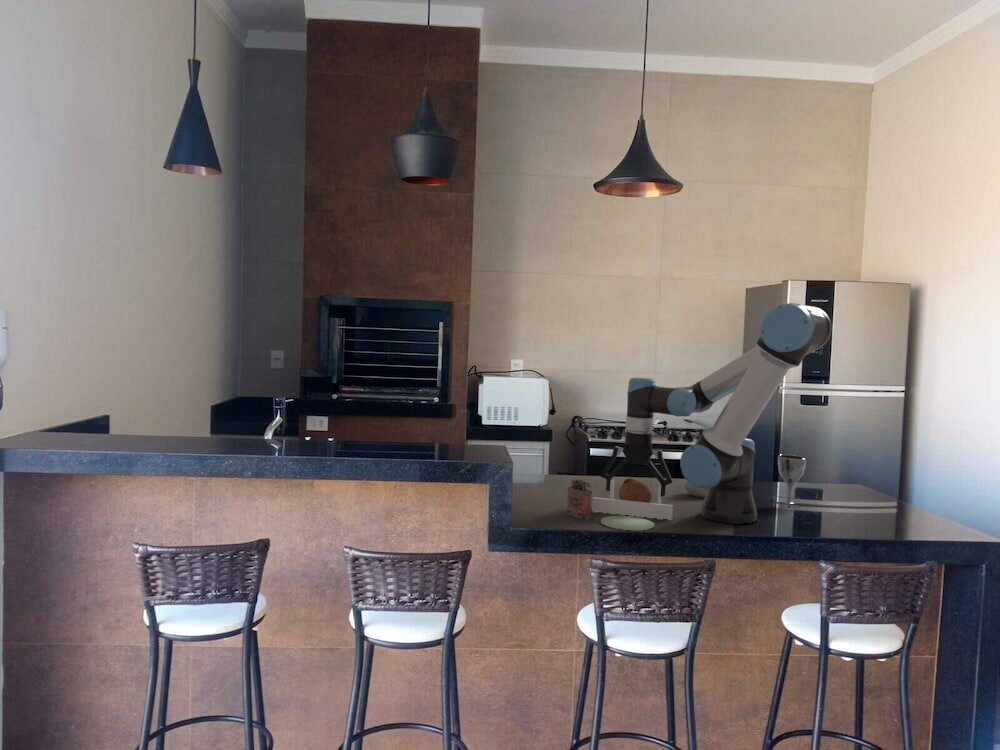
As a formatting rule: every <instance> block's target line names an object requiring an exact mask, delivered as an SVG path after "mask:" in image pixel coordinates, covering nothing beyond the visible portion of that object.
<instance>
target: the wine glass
mask: <svg viewBox="0 0 1000 750" xmlns="http://www.w3.org/2000/svg"><path fill="white" fill-rule="evenodd" d="M806 462H807V458H806V456H802V455H798V454H796V455H795V454H787V453H786V454H783V453H782V454H778V456H777V467H778V472H779V474H780V477H781V478H782V479H783V480H784V482H785V484H786V486H787V500H785V501H782V502H783V503H785V504H795V502H793V501H792V500H791V499H792V491H793V487H794V485H795V484H796V483H797V482H798V481H799V480H800V479H801V478H802V477H803V475H804V472H805V469H806Z"/></svg>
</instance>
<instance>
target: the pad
mask: <svg viewBox="0 0 1000 750" xmlns="http://www.w3.org/2000/svg"><path fill="white" fill-rule="evenodd" d="M600 523H601V525H603V524H604V525H606V526H605V527H607V526H608V527H607V528H609V527H611V528H610V529H613V528H615V529H614V530H618V529H622V530H621V531H626V530H630V531H629V532H644V530H645V531H650V530H652V529H651V528H653V527H654V528H655V523H654V522H653V521H651V520H649V519H648V518H644V517H634V516H625V515H610V516H609V515H608V516H603V517H602V518H601V520H600ZM604 525H603V526H604ZM654 528H653V529H654ZM649 529H650V530H649Z"/></svg>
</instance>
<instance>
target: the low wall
mask: <svg viewBox="0 0 1000 750" xmlns="http://www.w3.org/2000/svg"><path fill="white" fill-rule="evenodd" d="M591 502H592V505H591V512H592V511H594V512H593V513H597V512H603V513H602V514H606V513H610V514H609V515H615V514H620V515H619V516H625V515H629V516H632V517H634V516H636V517H638V518H644V517H646V518H645V519H653V518H657V519H656V520H663V519H668V520H667V521H672V520H673V510H674V505H673V504H667V503H666V504H664V503H661V504H657V502H650V503H647V502H637V501H627V500H620V499H616V498H615V499H614V498H613V499H609V498H607V497H605V498H604V497H596V496H595V497H594V496H593V497H592V500H591Z"/></svg>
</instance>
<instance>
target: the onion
mask: <svg viewBox="0 0 1000 750" xmlns="http://www.w3.org/2000/svg"><path fill="white" fill-rule="evenodd" d="M652 499H653V492H652V489H651V486H650V485H649V484H648V483H647V482H646V481H644V480H640V479H634V478H630V477H629V478H626V479H624V481H623V482H622V484H621V486H620V487H619V489H618V500H627V501H637V502H647V503H651V501H652Z"/></svg>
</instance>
